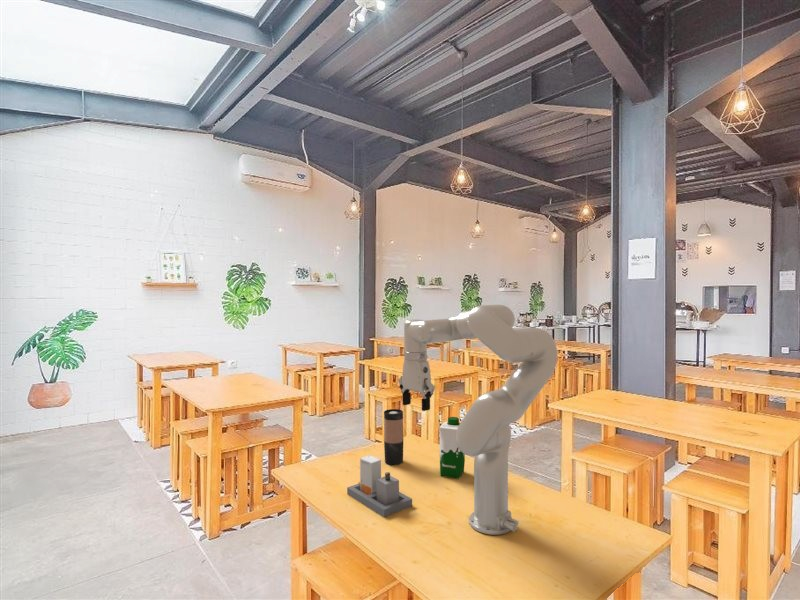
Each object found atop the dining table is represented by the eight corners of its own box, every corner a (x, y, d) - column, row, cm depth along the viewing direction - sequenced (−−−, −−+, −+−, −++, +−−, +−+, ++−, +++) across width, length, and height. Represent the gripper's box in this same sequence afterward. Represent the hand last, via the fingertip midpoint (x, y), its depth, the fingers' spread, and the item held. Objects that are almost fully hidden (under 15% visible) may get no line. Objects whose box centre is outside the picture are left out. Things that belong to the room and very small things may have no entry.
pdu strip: (412, 507, 140) (412, 496, 140) (384, 519, 133) (383, 507, 133) (374, 486, 155) (374, 476, 155) (347, 495, 148) (347, 485, 148)
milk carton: (466, 471, 168) (466, 417, 167) (460, 480, 159) (460, 424, 159) (444, 467, 171) (443, 415, 171) (436, 476, 163) (436, 422, 162)
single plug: (399, 505, 140) (398, 473, 140) (386, 510, 137) (386, 478, 137) (389, 499, 144) (389, 468, 144) (376, 504, 141) (376, 472, 141)
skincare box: (359, 494, 148) (359, 458, 148) (369, 490, 151) (369, 454, 151) (372, 500, 144) (371, 463, 144) (381, 496, 147) (381, 459, 147)
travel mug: (407, 460, 179) (406, 410, 178) (396, 467, 172) (396, 415, 172) (391, 457, 183) (390, 408, 182) (380, 463, 176) (379, 412, 176)
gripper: (441, 358, 147) (442, 410, 147) (407, 352, 160) (407, 400, 160) (424, 360, 142) (425, 414, 142) (390, 354, 155) (391, 404, 155)
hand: (416, 407), depth 151 cm, fingers open, 9 cm apart
